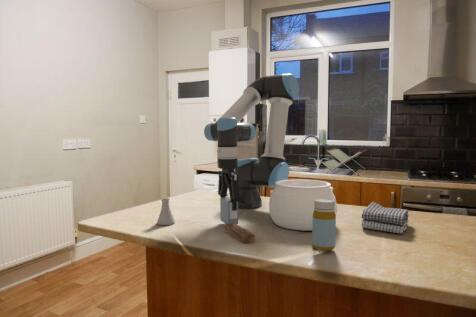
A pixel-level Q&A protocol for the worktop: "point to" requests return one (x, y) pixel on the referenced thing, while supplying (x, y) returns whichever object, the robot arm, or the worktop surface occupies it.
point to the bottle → (324, 224)
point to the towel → (385, 218)
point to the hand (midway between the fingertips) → (228, 215)
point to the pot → (297, 202)
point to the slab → (227, 211)
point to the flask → (165, 213)
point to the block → (240, 233)
